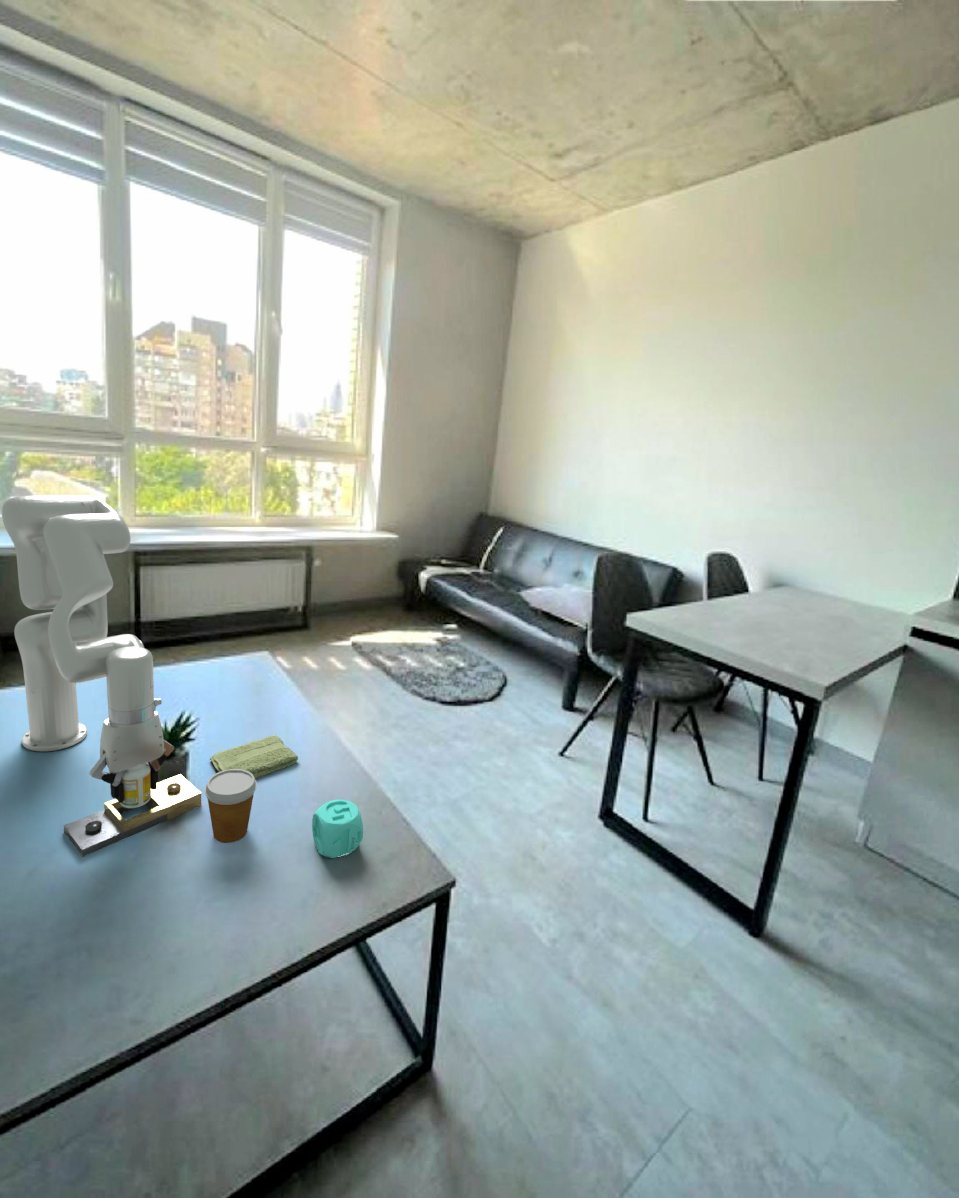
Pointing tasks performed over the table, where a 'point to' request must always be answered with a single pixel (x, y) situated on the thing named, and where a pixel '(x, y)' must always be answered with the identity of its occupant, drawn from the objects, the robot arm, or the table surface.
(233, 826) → the disposable coffee cup
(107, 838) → the holed plate
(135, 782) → the supplement bottle
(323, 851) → the decorative dice
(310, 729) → the table surface
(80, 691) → the table surface
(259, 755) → the washcloth
